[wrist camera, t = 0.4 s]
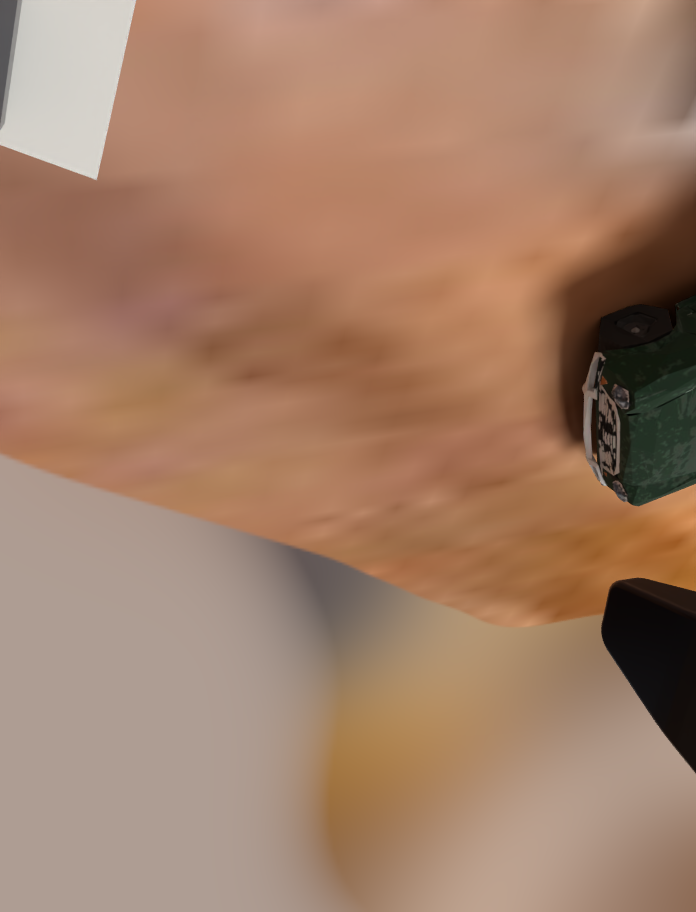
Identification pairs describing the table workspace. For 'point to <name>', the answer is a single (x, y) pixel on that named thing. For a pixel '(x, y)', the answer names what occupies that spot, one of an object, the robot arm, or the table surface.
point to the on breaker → (7, 48)
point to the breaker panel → (66, 80)
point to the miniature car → (644, 402)
